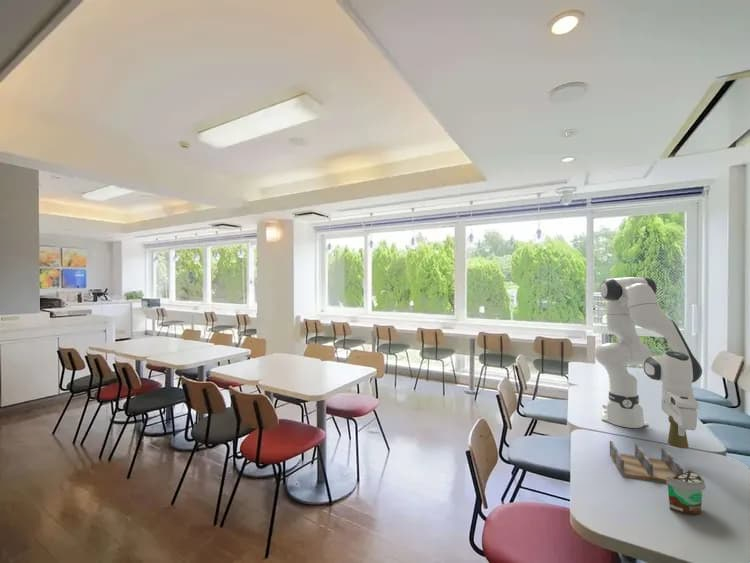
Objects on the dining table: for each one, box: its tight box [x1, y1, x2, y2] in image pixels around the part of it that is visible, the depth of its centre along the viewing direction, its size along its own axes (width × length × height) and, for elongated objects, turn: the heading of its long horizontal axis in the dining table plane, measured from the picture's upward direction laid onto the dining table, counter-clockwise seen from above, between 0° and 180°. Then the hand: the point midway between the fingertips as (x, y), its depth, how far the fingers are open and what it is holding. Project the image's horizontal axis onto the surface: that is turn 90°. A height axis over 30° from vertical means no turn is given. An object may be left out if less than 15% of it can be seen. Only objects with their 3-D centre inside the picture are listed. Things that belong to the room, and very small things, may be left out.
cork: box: [667, 415, 689, 449], centre depth 131 cm, size 6×6×11 cm
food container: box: [665, 468, 706, 517], centre depth 103 cm, size 12×6×10 cm, turn 114°
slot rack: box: [609, 440, 684, 484], centre depth 126 cm, size 16×17×6 cm
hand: (677, 431), depth 131 cm, fingers closed on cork, 4 cm apart
